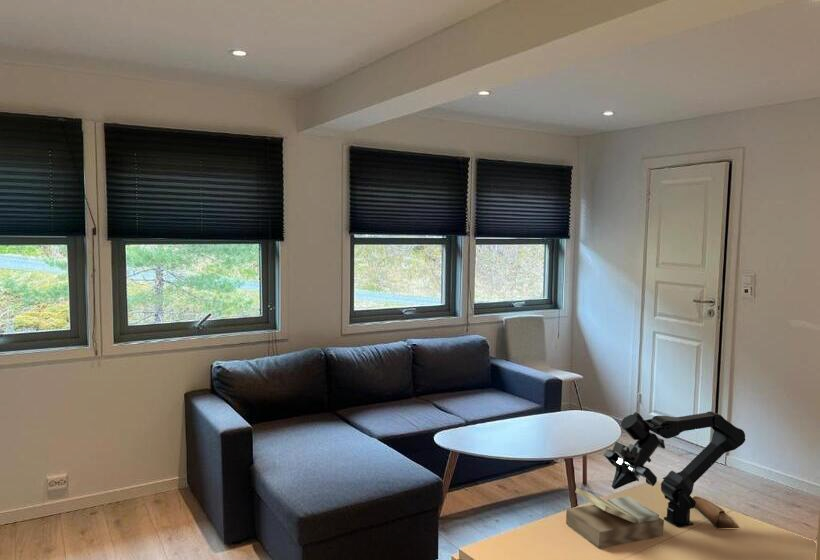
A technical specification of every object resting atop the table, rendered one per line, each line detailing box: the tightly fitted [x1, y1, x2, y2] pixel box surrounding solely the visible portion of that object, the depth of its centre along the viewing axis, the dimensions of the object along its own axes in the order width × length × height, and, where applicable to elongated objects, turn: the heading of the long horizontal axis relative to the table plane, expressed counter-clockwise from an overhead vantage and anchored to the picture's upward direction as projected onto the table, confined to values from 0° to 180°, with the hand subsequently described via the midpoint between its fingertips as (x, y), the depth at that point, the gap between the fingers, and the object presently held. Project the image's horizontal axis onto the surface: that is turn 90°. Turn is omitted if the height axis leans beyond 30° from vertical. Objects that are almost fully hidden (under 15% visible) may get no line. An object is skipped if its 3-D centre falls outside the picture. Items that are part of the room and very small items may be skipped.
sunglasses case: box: [692, 496, 740, 530], centre depth 196 cm, size 18×7×7 cm, turn 0°
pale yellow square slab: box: [574, 487, 637, 523], centre depth 183 cm, size 13×14×2 cm
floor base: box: [565, 496, 665, 550], centre depth 185 cm, size 24×16×6 cm, turn 111°
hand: (613, 488), depth 184 cm, fingers closed
